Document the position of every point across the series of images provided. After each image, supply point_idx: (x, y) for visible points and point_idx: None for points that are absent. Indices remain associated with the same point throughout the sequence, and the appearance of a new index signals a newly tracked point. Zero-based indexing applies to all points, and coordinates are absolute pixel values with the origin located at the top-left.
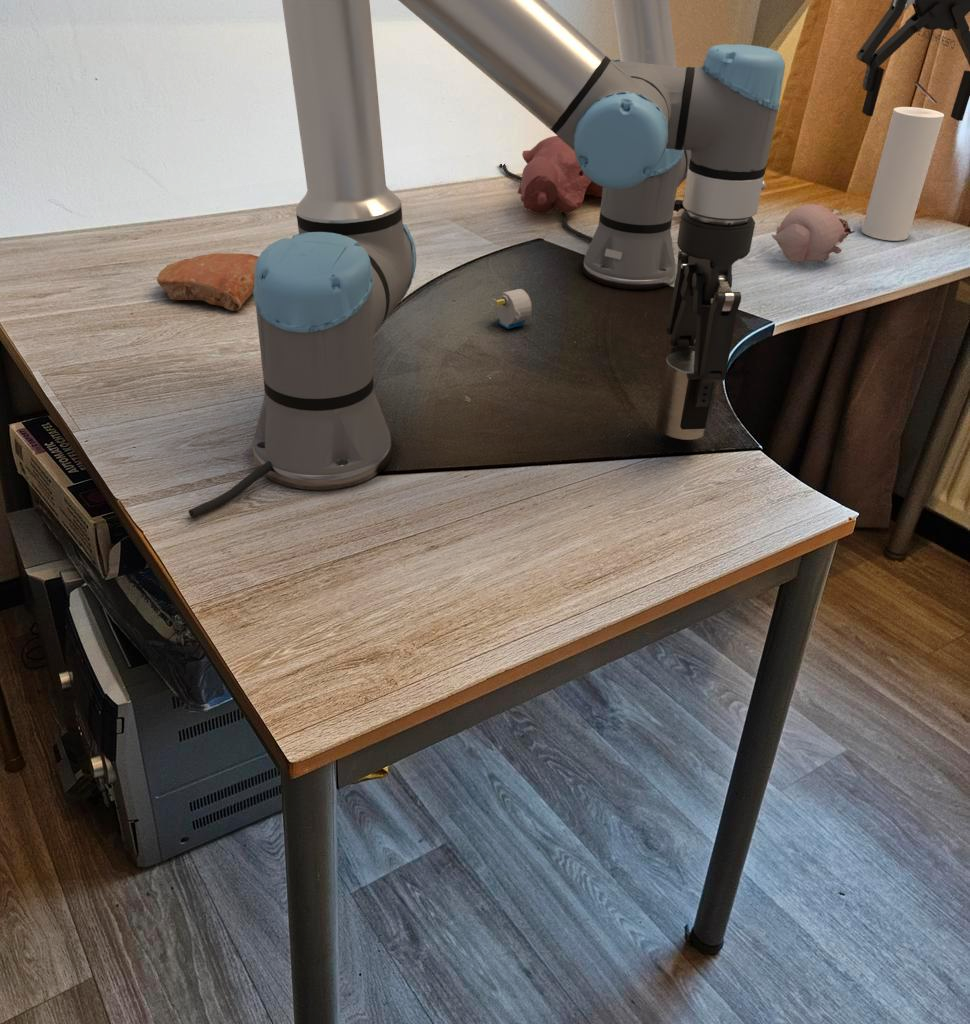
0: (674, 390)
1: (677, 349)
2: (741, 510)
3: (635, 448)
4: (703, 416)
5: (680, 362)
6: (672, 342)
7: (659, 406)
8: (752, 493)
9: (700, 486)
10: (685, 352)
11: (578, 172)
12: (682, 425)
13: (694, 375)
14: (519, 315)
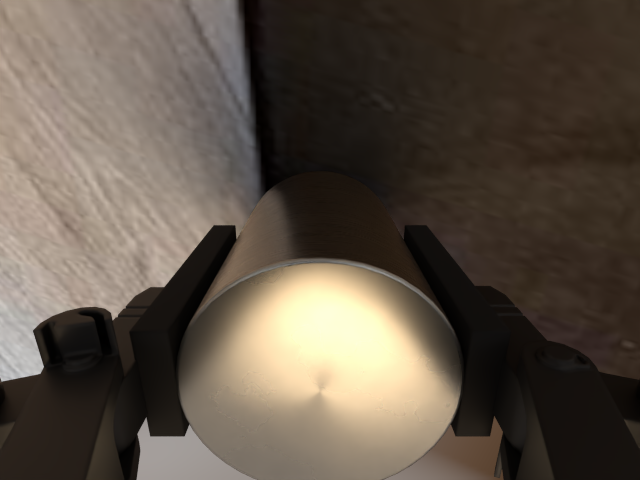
0: (246, 240)
1: (487, 358)
2: (31, 276)
3: (306, 101)
4: None
5: (311, 327)
6: (538, 356)
7: (332, 187)
8: None
9: (121, 219)
10: (437, 385)
11: None
12: (213, 229)
13: (45, 349)
14: None
